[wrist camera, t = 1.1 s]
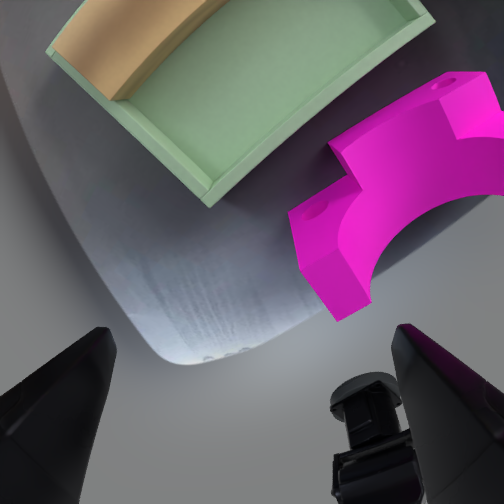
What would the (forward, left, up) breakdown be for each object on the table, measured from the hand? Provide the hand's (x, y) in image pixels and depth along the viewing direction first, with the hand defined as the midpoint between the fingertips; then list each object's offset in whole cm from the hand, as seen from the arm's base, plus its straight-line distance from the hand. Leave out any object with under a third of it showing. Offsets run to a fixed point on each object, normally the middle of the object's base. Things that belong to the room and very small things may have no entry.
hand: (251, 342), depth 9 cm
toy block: (-4, -8, -13) cm, 16 cm away
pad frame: (+10, -7, -13) cm, 18 cm away
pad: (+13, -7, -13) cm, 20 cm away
